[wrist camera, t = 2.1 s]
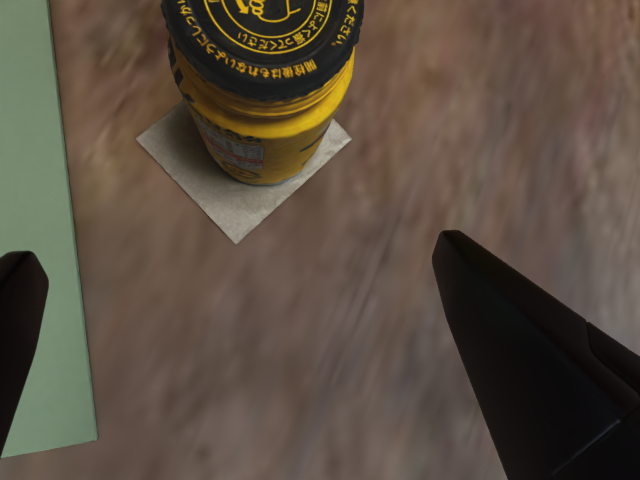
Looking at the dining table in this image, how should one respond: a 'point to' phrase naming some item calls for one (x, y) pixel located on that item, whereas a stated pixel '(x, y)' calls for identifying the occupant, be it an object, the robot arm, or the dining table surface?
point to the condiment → (253, 100)
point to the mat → (42, 232)
